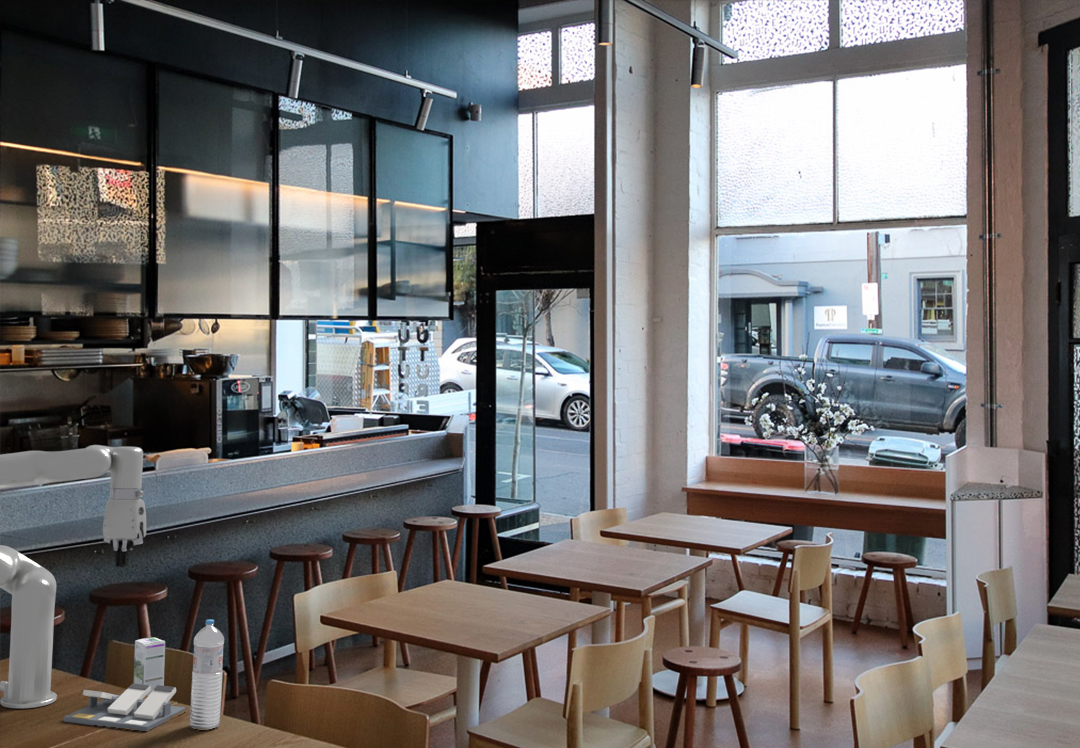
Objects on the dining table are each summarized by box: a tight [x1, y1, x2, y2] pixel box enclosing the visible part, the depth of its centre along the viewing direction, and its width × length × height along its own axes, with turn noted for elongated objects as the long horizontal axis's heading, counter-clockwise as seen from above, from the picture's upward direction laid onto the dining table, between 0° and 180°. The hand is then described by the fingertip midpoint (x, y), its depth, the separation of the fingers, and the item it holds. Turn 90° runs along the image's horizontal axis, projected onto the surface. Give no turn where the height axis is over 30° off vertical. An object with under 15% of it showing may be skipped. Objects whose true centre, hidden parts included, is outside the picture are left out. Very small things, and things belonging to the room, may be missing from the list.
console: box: [63, 696, 187, 732], centre depth 248 cm, size 22×16×4 cm
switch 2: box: [134, 685, 177, 720], centre depth 247 cm, size 5×10×1 cm, turn 167°
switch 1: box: [82, 689, 122, 700], centre depth 250 cm, size 5×10×2 cm, turn 167°
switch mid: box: [108, 683, 151, 715], centre depth 249 cm, size 5×10×2 cm, turn 167°
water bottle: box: [189, 618, 225, 730], centre depth 243 cm, size 7×7×25 cm
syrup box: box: [132, 636, 166, 696], centre depth 265 cm, size 6×6×14 cm
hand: (122, 566), depth 265 cm, fingers closed
